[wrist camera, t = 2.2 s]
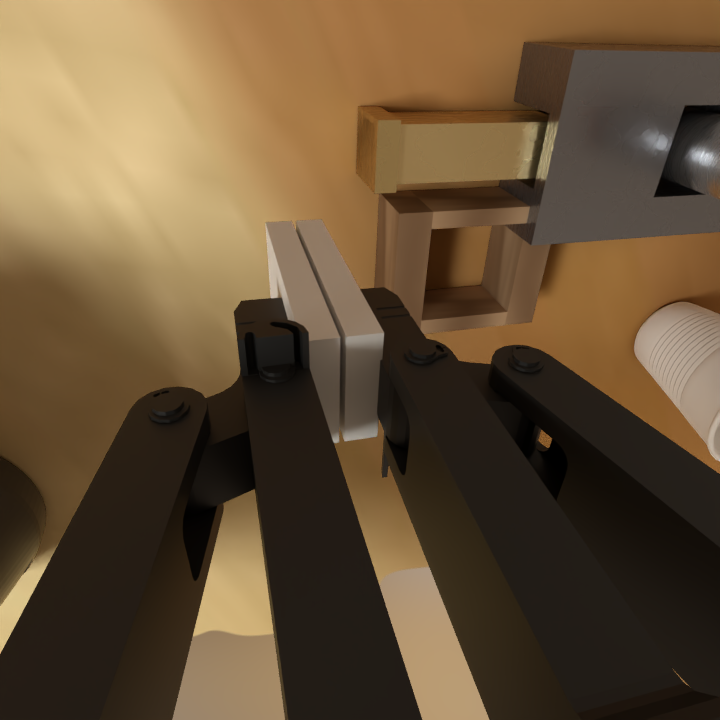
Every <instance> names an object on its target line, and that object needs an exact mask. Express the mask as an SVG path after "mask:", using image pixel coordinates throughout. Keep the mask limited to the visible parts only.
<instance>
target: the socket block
mask: <svg viewBox="0 0 720 720" xmlns="http://www.w3.org/2000/svg"><path fill="white" fill-rule="evenodd" d="M514 101H515V102H518V103H521V104H523V105H526V106H529V107H532V108H535V109H538V110H541V111H544V112H547V113H550V114H549V119H548V124H547V129H546V133H545V138H544V143H543V147H542V152H541V157H540V162H539V166H538V171H537V176H536V178H532V179H508V180H500V183H499V187H500V188H502V189H503V190H505V191H506V192H508V193H509V194H511V195H513V196H514V197H516V198H517V199H519V200H520V201H522V202H524V203H525V204H527V205H528V206H530V209H529V213H528V218H527V223H522V224H506V225H505V226H506V227H507V228H509V229H510V230H511V231H513V232H514V233H515V234H517V235H518V236H519V237H521V238H522V239H523V240H525V241H526V242H527V243H529V244H530V245H531V246H532V245H546V244H560V243H574V242H587V241H601V240H615V239H628V238H642V237H656V236H669V235H683V234H697V233H711V232H720V200H718V199H716V198H713V197H711V196H708V195H705V194H703V193H700V192H698V191H695V190H693V189H690V188H688V187H685V186H683V185H680V184H678V183H675V182H673V181H670V180H668V179H665V178H662V177H661V174H662V171H663V168H664V165H665V162H666V159H667V156H668V153H669V151H670V148H671V145H672V142H673V139H674V136H675V133H676V130H677V127H678V124H679V121H680V118H681V115H682V112H683V109H684V106H685V105H688V107H690V108H695V109H699V110H703V111H708V112H712V113H716V114H720V46H683V45H634V44H586V43H538V42H524V46H523V52H522V57H521V63H520V69H519V75H518V80H517V86H516V92H515V97H514Z"/></svg>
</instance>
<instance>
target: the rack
mask: <svg viewBox="0 0 720 720" xmlns="http://www.w3.org/2000/svg"><path fill="white" fill-rule="evenodd" d="M529 209H530V206H528V205H527V204H525V203H524V202H522V201H520V200H519V199H517V198H516V197H514V196H513V195H511V194H509V193H508V192H506V191H505V190H503V189H502V188H500V187H481V188H459V189H437V190H415V191H396V193H379V209H378V228H377V248H376V267H375V287H374V288H380V287H385V288H386V289H388V290H390V291H391V292H393V293H395V294H396V295H398V297H399V298H400V300H401V301H402V303H403V304H404V306H405V308H406V309H407V310H408V312H409V313H410V316H412V318H413V319H414V321H415V322H416V324H417V325H418V327H419V328H420V330H421V331H422V333H423V334H427V333H437V332H446V331H455V330H464V329H474V328H483V327H492V326H501V325H510V324H520V323H529V322H532V319H533V315H534V311H535V307H536V302H537V298H538V294H539V290H540V286H541V282H542V278H543V274H544V270H545V266H546V262H547V257H548V253H549V249H550V245H551V244H546V245H532V246H531V245H530V244H529V243H527V242H526V241H525V240H523V239H522V238H521V237H519V236H518V235H517V234H515V233H514V232H513V231H511V230H510V229H509V228H507V227H506V226H505V225H506V224H522V223H527V218H528V213H529ZM490 225H492V228H491V234H490V240H489V246H488V251H487V257H486V263H485V268H484V274H483V280H482V285H479V286H468V287H457V288H446V289H434V290H425V284H426V275H427V266H428V257H429V248H430V238H431V229H442V228H458V227H474V226H490Z"/></svg>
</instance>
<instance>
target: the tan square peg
mask: <svg viewBox="0 0 720 720" xmlns="http://www.w3.org/2000/svg"><path fill="white" fill-rule="evenodd" d="M548 119H549V115H547V114H544V113H541V112H538V111H443V112H387V111H386V110H384V109H383V108H381V107H379V106H358V133H357V171H356V173H357V174H358V176H359V177H360V178H361V179H362V180H363V181H364V182H365V183H366V185H367V186H368V187H369V188H370V189H371V190H372V191H373V192H374V194H378V193H396V188H397V184H413V183H437V182H461V181H484V180H508V179H532V178H536V176H537V171H538V166H539V162H540V157H541V152H542V147H543V143H544V138H545V133H546V129H547V124H548Z"/></svg>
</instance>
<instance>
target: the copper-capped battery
mask: <svg viewBox="0 0 720 720" xmlns="http://www.w3.org/2000/svg"><path fill="white" fill-rule="evenodd" d="M661 177H662V178H665V179H668V180H670V181H673V182H675V183H678V184H680V185H683V186H685V187H688V188H690V189H693V190H695V191H698V192H700V193H703V194H705V195H708V196H711V197H713V198H716V199H718V200H720V114H716V113H712V112H708V111H703V110H699V109H695V108H690V107H686V106H684V109H683V112H682V115H681V118H680V121H679V124H678V127H677V130H676V133H675V136H674V139H673V142H672V145H671V148H670V151H669V153H668V156H667V159H666V162H665V165H664V168H663V171H662V174H661Z"/></svg>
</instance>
